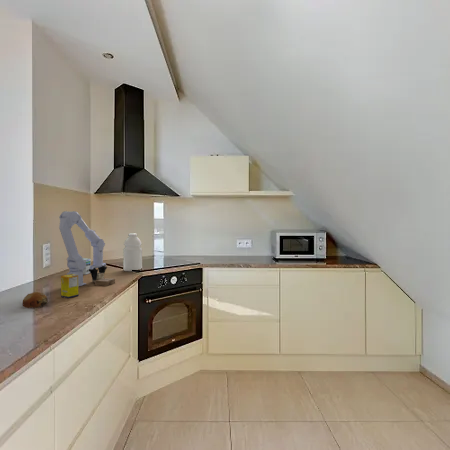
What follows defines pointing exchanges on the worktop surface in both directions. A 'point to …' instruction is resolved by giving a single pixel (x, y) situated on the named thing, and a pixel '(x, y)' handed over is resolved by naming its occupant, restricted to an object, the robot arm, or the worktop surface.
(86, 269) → the light bulb box
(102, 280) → the walnut block
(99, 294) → the worktop surface
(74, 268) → the robot arm
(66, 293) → the supplement box
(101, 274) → the maple cube
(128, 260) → the bottle
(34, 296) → the bread roll
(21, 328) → the worktop surface
